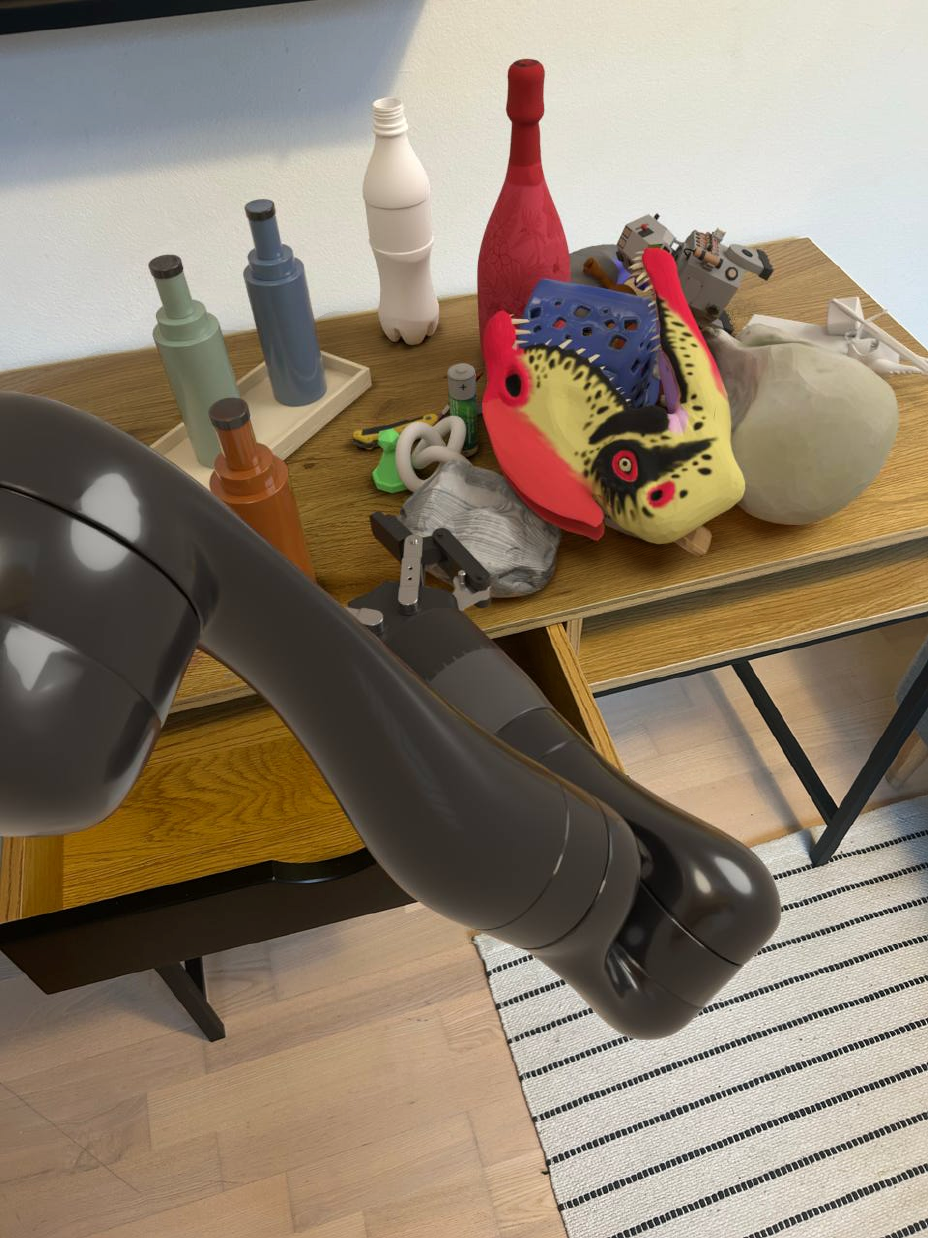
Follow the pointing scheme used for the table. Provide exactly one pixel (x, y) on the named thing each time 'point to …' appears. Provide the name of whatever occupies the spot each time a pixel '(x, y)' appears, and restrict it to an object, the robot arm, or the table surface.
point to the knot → (428, 448)
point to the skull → (800, 422)
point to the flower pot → (598, 332)
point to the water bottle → (400, 228)
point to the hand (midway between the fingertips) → (321, 549)
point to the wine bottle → (521, 212)
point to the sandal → (691, 542)
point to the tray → (276, 414)
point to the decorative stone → (486, 527)
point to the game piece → (388, 464)
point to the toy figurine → (605, 279)
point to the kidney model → (605, 260)
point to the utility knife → (371, 435)
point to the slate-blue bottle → (282, 311)
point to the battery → (464, 403)
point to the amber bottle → (256, 482)
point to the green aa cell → (447, 408)
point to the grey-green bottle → (191, 356)
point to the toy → (614, 426)
